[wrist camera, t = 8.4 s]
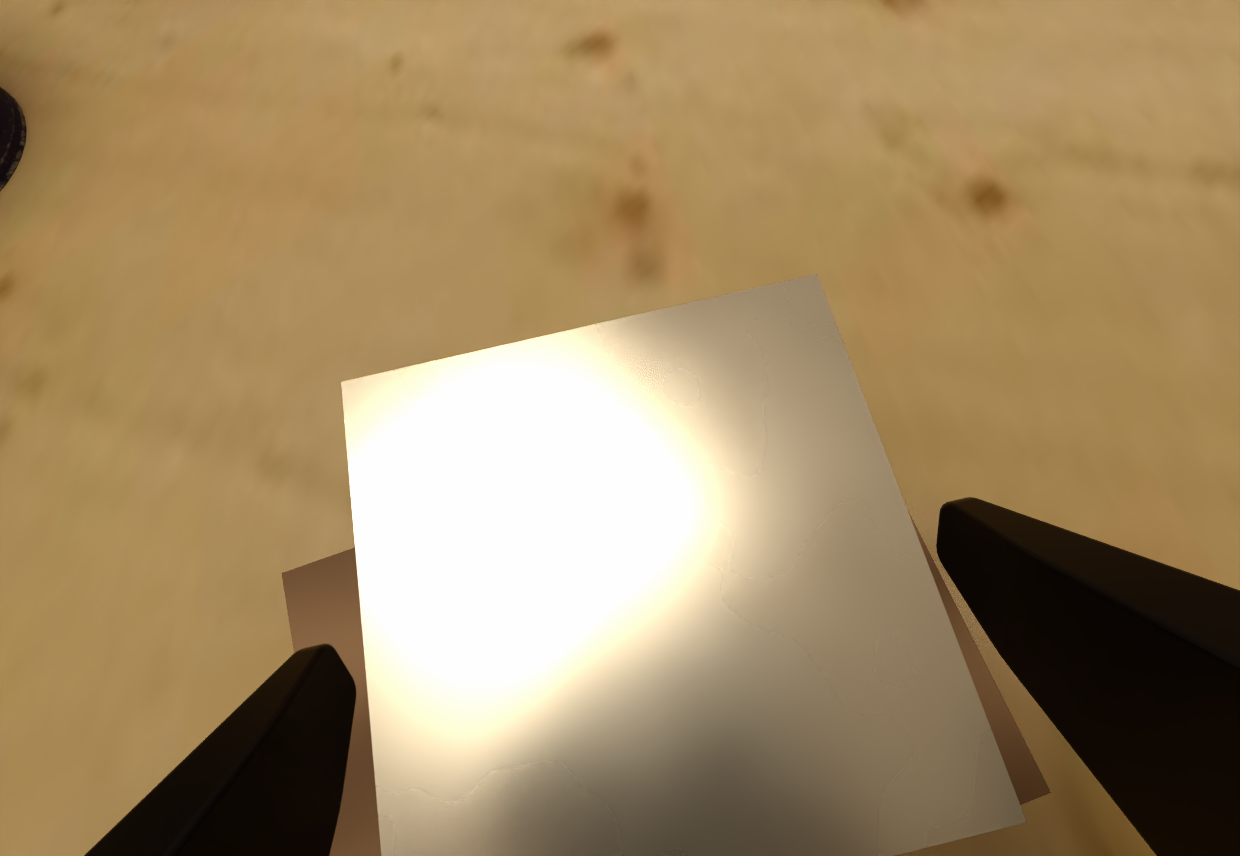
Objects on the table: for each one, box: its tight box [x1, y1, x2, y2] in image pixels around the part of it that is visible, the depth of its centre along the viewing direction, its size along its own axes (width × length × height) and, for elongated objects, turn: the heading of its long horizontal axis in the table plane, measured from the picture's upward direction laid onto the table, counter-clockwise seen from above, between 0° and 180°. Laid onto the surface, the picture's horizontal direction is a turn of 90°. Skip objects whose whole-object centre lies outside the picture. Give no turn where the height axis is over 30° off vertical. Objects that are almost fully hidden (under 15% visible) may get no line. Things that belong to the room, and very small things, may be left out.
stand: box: [282, 512, 1051, 856], centre depth 17 cm, size 12×18×3 cm, turn 109°
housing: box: [341, 274, 1027, 856], centre depth 11 cm, size 6×6×11 cm
